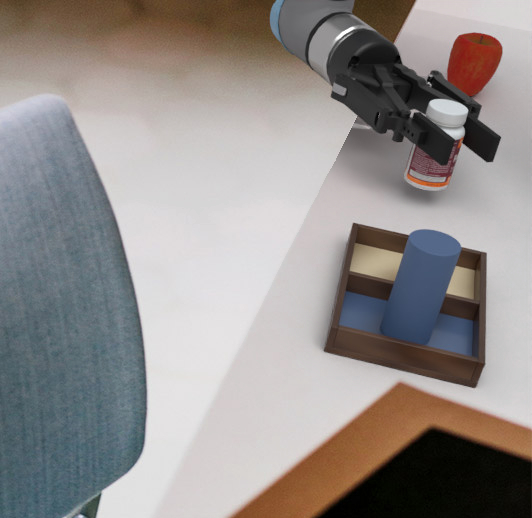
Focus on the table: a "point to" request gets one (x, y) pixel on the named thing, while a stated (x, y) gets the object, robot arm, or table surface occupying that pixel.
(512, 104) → the table surface
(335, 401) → the table surface
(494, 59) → the apple
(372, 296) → the sorting tray
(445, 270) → the blue cylinder
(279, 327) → the table surface
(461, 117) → the pill bottle
